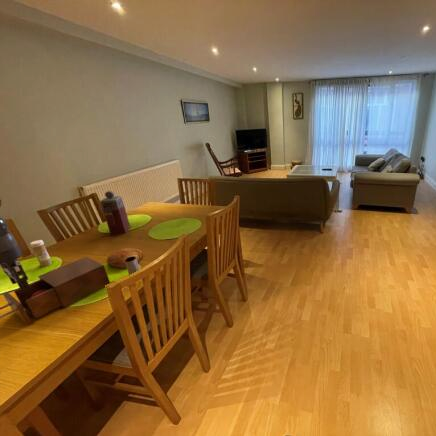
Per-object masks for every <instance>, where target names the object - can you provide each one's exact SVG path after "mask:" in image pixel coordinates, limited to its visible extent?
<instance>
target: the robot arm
mask: <svg viewBox="0 0 436 436" xmlns="http://www.w3.org/2000/svg"><path fill="white" fill-rule="evenodd" d="M2 204H3V202H2V198H1V197H0V208H1V207H2ZM22 256H23V252H22V250H21V248H20V246H19V244H18V241H17V239H16V238H15V236H14V235H13V233H12V232H11V230H10V228H9V225H8V224H7V222H6V220H5V219H4V218H3V217H1V216H0V268H1V270H2V272H3V273H4V274H5V275H6V276H7V277H8V279H9V280H10V282H11V284H12V285H16V284H17V286H18V288H20V289H21V291H25V290H27V289H29V288H30V286H29V284H30V283H29V282H28V280H29V277H28V276H27V273H26V271H25V269H24V268H23V265H22V264H21V262H20V261H18V260H17V259H19V258H21V257H22ZM20 276H22V277H20Z"/></svg>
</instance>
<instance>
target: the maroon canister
mask: <svg viewBox="0 0 436 436" xmlns="http://www.w3.org/2000/svg"><path fill="white" fill-rule="evenodd" d="M104 196H105V197H104V198H103V199H101V200H100V201H99V204H100V206H101V209H102V213H103V215H104V219H105V222H106V225H107V227H108V231H109V234H110V235H119V234H120V235H122V234H127V233H128V232H129V231H130V229H131V224H130V221H129V217H128V214H127V210H126V207H125V203H124V201H123V196H121V195H115V192H114V191H112V190H108V191H105V193H104Z"/></svg>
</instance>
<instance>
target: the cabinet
mask: <svg viewBox="0 0 436 436" xmlns="http://www.w3.org/2000/svg"><path fill="white" fill-rule="evenodd" d="M37 277H38V280H43V281H44V282H46V283H47V284H49V285H50V286H52V287H53V288H54V289H55V291H56V293H57V295H58V297H59V299H60V301H61V303H62V306H61V307H62V308H63V309H66V308H69V307H70V306H72V305H75V304H76V303H78V302H80V301H82V300H84V299H85V298H88V297H89V296H91V295H94V294H95V293H98V292H99V291H100V290H101V291H102V290H103V289H105V288H106V287H105V285H107V284H109V283H110V284H111V282H110V278H109V276H108V273H107V270H106V268H105V264H102V263H101V262H98V261H96V260H95V259H92V258H90V257H88V256H85V257H82V258H79V259H77V260H74V261H72V262H70V263H67V264H64V265H62V266H60V267H57V268H55V269H52V270H49V271H47V272H45V273H42V274H40V275H38V276H37Z"/></svg>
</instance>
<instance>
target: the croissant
mask: <svg viewBox="0 0 436 436" xmlns="http://www.w3.org/2000/svg"><path fill="white" fill-rule="evenodd" d="M129 257H136V259H137V262H138V263H139V262H140V260H141V259H142V257H143V252H142V251H141V250H140V249H138V248H135V247H134V248H133V247H130V248H129V247H126V248H119V249H117V250H115V251H113V252H112V253H110V254H109V256H107V259H106V263H107V265H109V266H112V267H116V268H119V269H127V267H126V264H125V259H126V258H129Z"/></svg>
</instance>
